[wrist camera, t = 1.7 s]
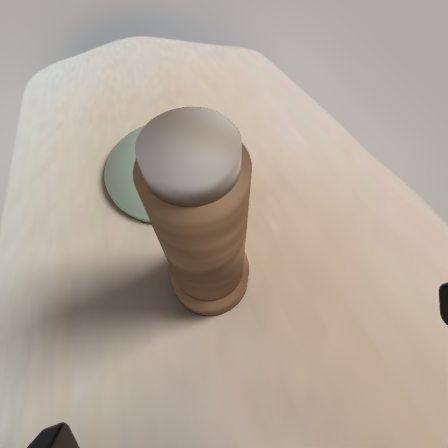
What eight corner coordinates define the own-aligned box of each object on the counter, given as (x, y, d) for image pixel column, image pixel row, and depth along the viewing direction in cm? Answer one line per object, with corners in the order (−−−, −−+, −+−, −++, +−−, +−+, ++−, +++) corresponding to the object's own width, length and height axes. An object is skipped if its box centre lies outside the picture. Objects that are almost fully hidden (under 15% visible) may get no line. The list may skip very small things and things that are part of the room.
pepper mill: (225, 330, 20) (218, 235, 9) (159, 293, 21) (77, 168, 10) (259, 264, 22) (289, 119, 11) (197, 234, 24) (167, 77, 12)
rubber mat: (191, 246, 23) (190, 243, 23) (78, 190, 26) (76, 187, 26) (255, 148, 28) (255, 144, 27) (154, 110, 31) (153, 105, 30)
